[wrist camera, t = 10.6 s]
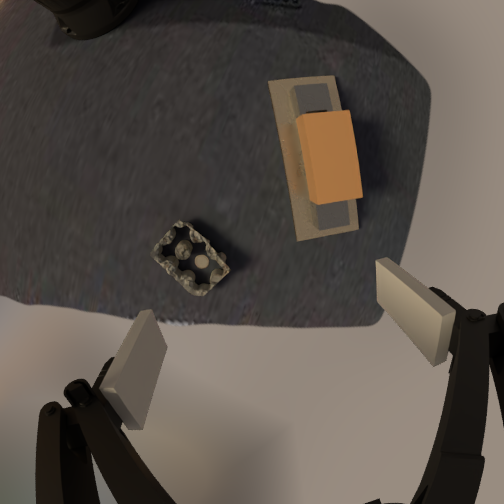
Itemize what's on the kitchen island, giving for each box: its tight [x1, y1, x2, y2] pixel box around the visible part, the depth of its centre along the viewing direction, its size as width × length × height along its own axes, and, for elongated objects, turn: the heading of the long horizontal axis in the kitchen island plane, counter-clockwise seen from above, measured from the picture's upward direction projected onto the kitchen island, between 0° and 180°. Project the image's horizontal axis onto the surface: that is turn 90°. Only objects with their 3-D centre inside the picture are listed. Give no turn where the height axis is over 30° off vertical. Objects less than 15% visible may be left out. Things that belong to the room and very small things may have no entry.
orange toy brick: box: [296, 110, 363, 205], centre depth 35 cm, size 11×6×7 cm, turn 11°
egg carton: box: [150, 220, 231, 296], centre depth 42 cm, size 11×8×4 cm
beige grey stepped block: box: [267, 76, 359, 241], centre depth 38 cm, size 24×10×4 cm, turn 11°
